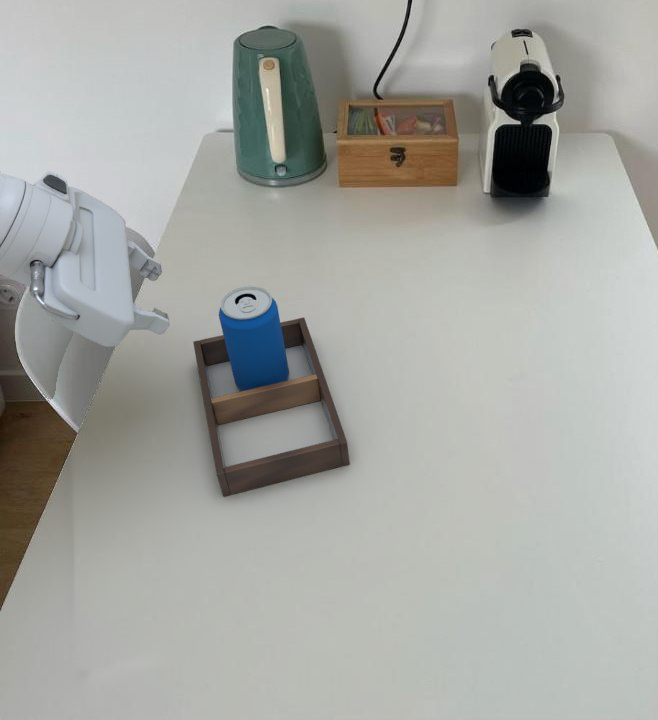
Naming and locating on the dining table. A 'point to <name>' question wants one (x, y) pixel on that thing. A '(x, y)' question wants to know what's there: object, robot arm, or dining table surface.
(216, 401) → the tray
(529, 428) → the dining table surface
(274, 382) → the beverage can
